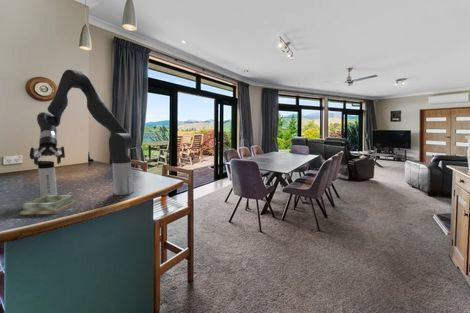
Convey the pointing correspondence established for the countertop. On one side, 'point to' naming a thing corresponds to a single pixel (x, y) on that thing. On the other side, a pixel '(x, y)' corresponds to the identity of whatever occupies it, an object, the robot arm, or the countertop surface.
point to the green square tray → (48, 204)
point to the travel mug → (47, 178)
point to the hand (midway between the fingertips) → (47, 163)
